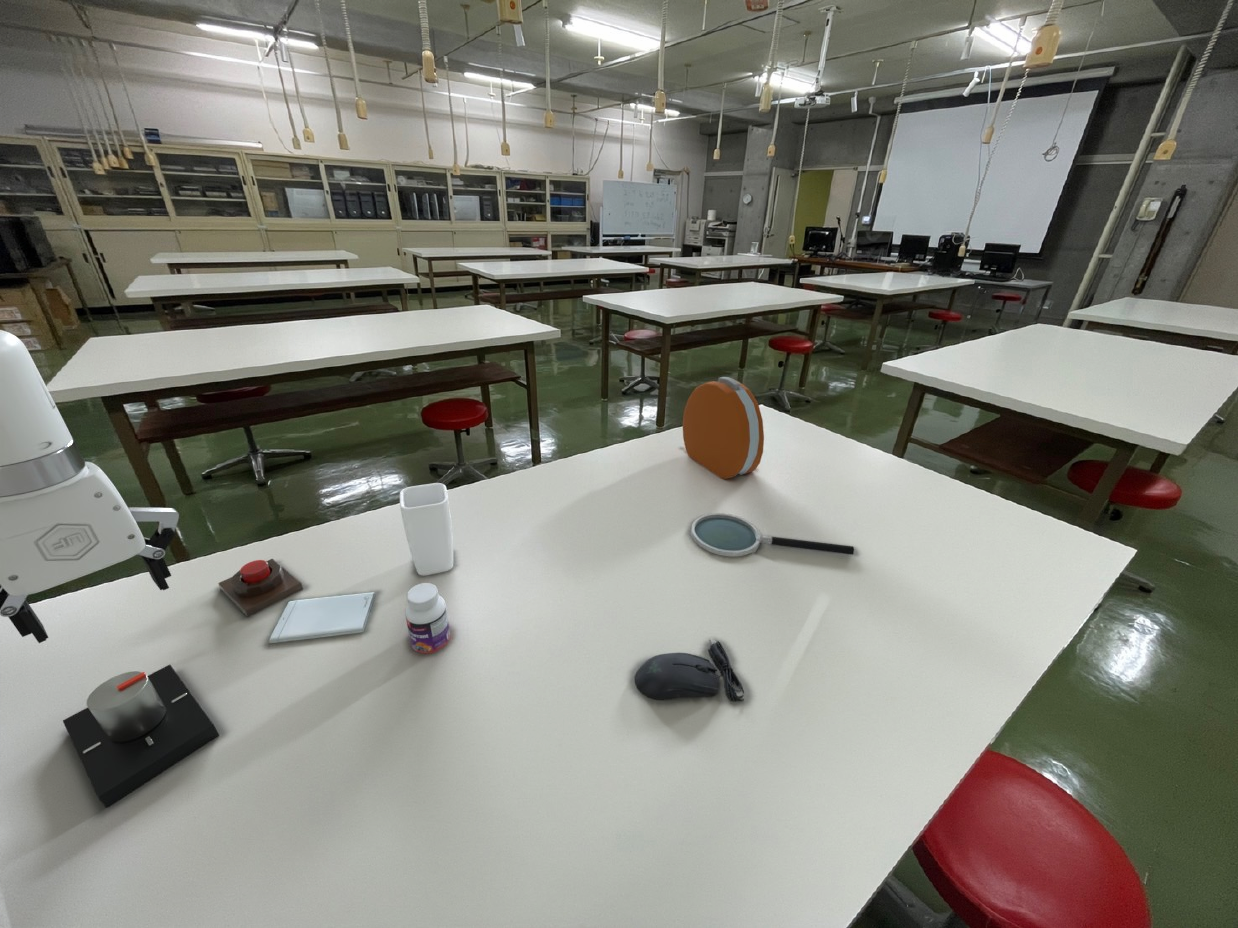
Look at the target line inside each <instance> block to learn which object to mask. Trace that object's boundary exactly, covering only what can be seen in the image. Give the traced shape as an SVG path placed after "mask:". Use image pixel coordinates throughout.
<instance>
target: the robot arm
mask: <svg viewBox="0 0 1238 928" xmlns="http://www.w3.org/2000/svg"><path fill="white" fill-rule="evenodd" d="M179 518H180V513H179V512H178V510H176V509H175V508H174V507H139V506H138V507H135V506H132V507H131V506H130V507H129V506H128V505H127V503H126V501H125V500H124V499H123V497H122V495H121V493H119V490H118V489H117V488H116V486H115V485H114V483H113V482H112V481H111V479H110V478H109V477H108V476H107V474H106V473H105V472H104V470H102V468H100V466H98V465H96V464H95V463H93V462H91V461H85V459H84V457H83V456H82V454H81V452H80V449H79V447H78V446H77V444H76V442H75V440H74V438H73V436H72V435H71V433H70V431H69V428H68V427H67V424H66V422H65V420H64V418H63V417H62V414H61V413H60V411H59V408H58V407H57V404H56V403H55V401H54V399H53V396H52V395H51V393H50V391H49V389H48V387H47V385H46V383H45V381H44V379H43V377H42V375H41V374H40V370H39V369H38V368H37V366H36V364H35V361H34V359H33V358H32V356H31V354H30V352H29V350H28V348H27V346H26V345H25V343H24V342H23V341H22V340H21V339H20V338H19V337H18V336H16V335H14V334H13V333H11V332H8V331H6V330H3V329H0V616H1V617H3V618H8V619H9V620H10V621H11V623H12V625H13V626H14V627H15V629H16V630H17V631H18V633H19V634H20V636H21V637H22V638H24V637H27V636H29V635H31V634H32V636H33V637H34V638H35V640H36V642H37V643H38V644H41V643H43V642H46V641H47V639H49V636H48V633H47V631H46V629H45V627H44V624H43V623H42V622H41V619H40V618H39V616H38V615H37V614H36V613H35V611H34V610H33V608H32V607H31V605H30V604H29V602H28V600H27V598H28V596H29V595H34V594H37V593H40V592H44V591H47V590H49V589H52V588H54V587H57V586H60V585H63V584H65V583H68V582H71V581H74V580H76V579H79V578H81V577H82V578H83V577H85V576H87V575H91V574H93V573H95V572H99V571H100V570H103V569H105V568H108V567H111V566H114V565H116V564H119V563H122V562H124V561H126V560H129V559H131V558H133V557H135V556H140V558H141V559H142V561H143V563H144V565H145V568H146V569H147V572H148V573H149V575H150V577H151V580H152V582H153V583H154V584H155V585H156V586H157V588H158V589H159V590H160V591H166V590H168V589H170V586H169V585H168V582H167V580H166V579H168V578H170V577H172V573H171V571H170V569H169V567H168V565H167V563H166V561H165V558H164V557H165V555H166V550H167V548H168V547H169V545H170V544H171V542H172V541H173V540H174V538H175V537H176V529H177V527H178V523H179V520H180V519H179ZM157 522H158V527H157V528H156V529H155V530H154V532H153V534H152V535H151V537H150V538H149V537H144V535H143V533H142V531H141V529H140V527H139V525H138V523H157Z"/></svg>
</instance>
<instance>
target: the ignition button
mask: <svg viewBox="0 0 1238 928" xmlns="http://www.w3.org/2000/svg"><path fill="white" fill-rule="evenodd" d="M266 561H267V560H265V559H256V560H252V561H249V562H248V563H246V564H244V565H243V566H241V568H240V569H239V570H240V573H241V575H242V578H243V580H244V582H246V583H253V582H258V581H260V580H262V579H265V578H267V577H268V576H269V574H270V569H269V566H268V563H267V562H266Z"/></svg>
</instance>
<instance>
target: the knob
mask: <svg viewBox="0 0 1238 928" xmlns="http://www.w3.org/2000/svg"><path fill="white" fill-rule="evenodd" d="M86 708H89V710H90V711H91V713H92V714H93V716H94V717H95V719H96V720H97V721H98V723H99V724H100V726H101V727H102V729H103V730H104V732H105V733H106V734H107V736H108V737H109V739H110V740H111V741H113V742H127V741H131V740H134V739H136V738H139V737H141V736H143V735H144V734H146V733H148V732H149V731H151V730H152V729H153V728H154V727H156V726H157V725H158V724H159V723H160V722H161V720H162V719H163V717H164V715H165V713H166V708H165V706H164V704H163V702H162V701H161V699H160V697H159V695H158V694H157V692H156V690H155V688H154V687H153V685H152V683H151V682H150V680H149V678H148V675H147V674H146V673H145V671H140V670H134V671H127V672H124V673H120V674H117V675H115V676H113V677H111V678H108V679H107V680H105V681H104V682H102V683H101V684H100V685H98V686H97V687H95V689H94V690H93V691H92V692H91V693H90V694H89V695H88V697H87V699H86Z"/></svg>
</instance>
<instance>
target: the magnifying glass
mask: <svg viewBox="0 0 1238 928" xmlns="http://www.w3.org/2000/svg"><path fill="white" fill-rule="evenodd" d="M690 529H691V530H690V534H691V537H692V540H693V541H694V542H695V543H696V545H698V546H699V547H700V548H702V549H704V550H705V551H707V552H710V553H711V554H715V555H718V556H723V557H733V558H734V557H742V556H747V555H749V554H755V553H756V552H757V551H758V549H759V548H760V544H767V545H772V546H780V547H786V548H787V547H788V548H796V549H803V550H804V549H805V550H813V551H820V552H827V553H837V554H844V555H845V554H846V555H851V556H852V555H854V553H855V547H854V545H853V546H852V545H844V544H837V543H827V542H818V541H812V540H811V541H810V540H803V539H796V538H795V539H794V538H787V537H780V536H779V537H778V536H766V535H765V536H764V535H761V532H760V530H759V529H758V528H757V527H756V526H755V525H754V524H753V523H751V521H749V520H747V519H745V518H743V517H741V516H738V515H734V514H730V513H725V512H724V513H723V512H712V513H706V514H702V515H701V516H699V517H697V518H696V519H695V520H693V522H692V524H691V528H690Z"/></svg>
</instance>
